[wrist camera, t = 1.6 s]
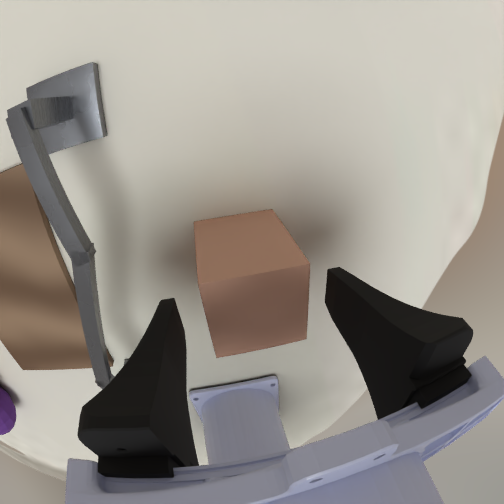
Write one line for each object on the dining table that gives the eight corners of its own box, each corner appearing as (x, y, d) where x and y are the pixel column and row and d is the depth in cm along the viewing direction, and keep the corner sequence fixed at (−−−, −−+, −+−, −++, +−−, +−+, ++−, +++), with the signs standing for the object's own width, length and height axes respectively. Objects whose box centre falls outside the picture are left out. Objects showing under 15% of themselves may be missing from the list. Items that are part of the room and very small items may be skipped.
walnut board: (113, 360, 20) (112, 366, 20) (24, 365, 19) (22, 369, 19) (31, 159, 12) (26, 162, 12) (-60, 204, 11) (-64, 207, 10)
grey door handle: (184, 382, 23) (189, 437, 18) (141, 387, 23) (140, 440, 18) (97, 63, 11) (53, 50, 6) (33, 88, 10) (-26, 92, 6)
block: (275, 273, 19) (306, 339, 14) (206, 285, 19) (216, 358, 14) (272, 208, 17) (309, 263, 12) (193, 221, 16) (198, 284, 11)
